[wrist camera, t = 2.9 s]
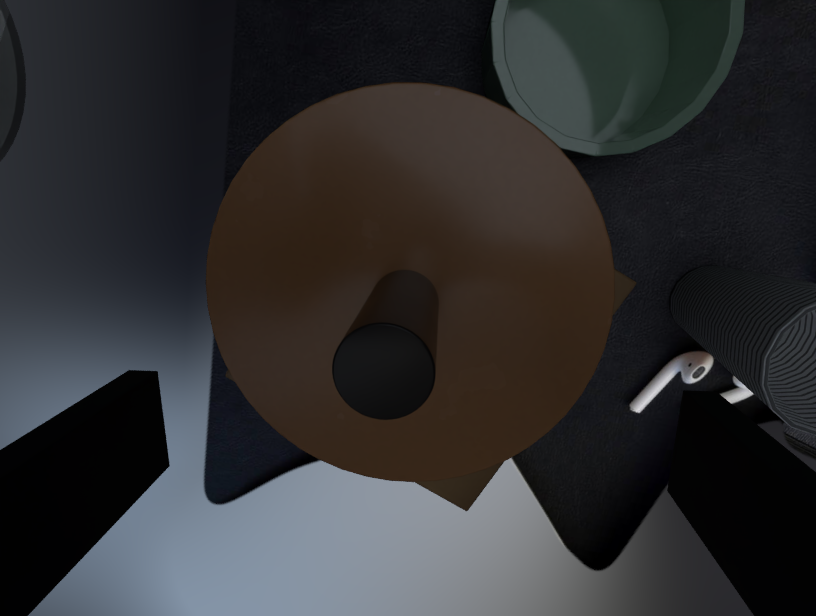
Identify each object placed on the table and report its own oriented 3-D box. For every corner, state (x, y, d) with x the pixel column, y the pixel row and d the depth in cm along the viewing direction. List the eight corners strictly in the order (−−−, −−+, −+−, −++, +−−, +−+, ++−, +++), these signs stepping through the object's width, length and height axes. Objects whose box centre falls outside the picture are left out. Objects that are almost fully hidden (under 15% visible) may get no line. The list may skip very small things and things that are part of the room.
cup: (645, 264, 42) (754, 315, 28) (752, 237, 41) (926, 275, 26) (661, 357, 44) (771, 451, 29) (763, 334, 43) (932, 419, 28)
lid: (146, 339, 21) (-13, 428, 14) (349, -13, 17) (278, -149, 10) (449, 536, 23) (451, 711, 15) (700, 253, 19) (865, 306, 11)
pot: (445, 96, 40) (446, 76, 32) (552, -93, 36) (586, -175, 28) (599, 193, 41) (640, 198, 33) (718, 19, 37) (800, -27, 29)
